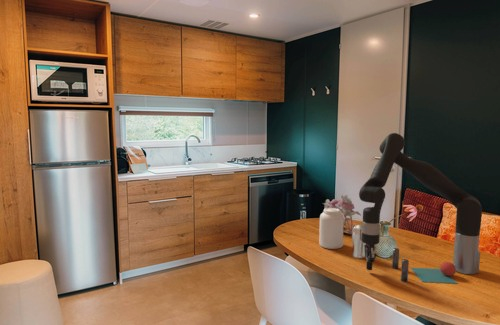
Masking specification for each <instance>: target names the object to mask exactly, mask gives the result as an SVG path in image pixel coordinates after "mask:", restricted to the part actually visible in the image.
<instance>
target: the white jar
mask: <svg viewBox="0 0 500 325" xmlns="http://www.w3.org/2000/svg"><path fill="white" fill-rule="evenodd" d="M324 208H325V207H324ZM344 220H345V217H344V215H343V213H341V211H340V209H338V208H337V209H336V208H325V209H323V211H322V213H320V215H319V232H318V233H319V234H318V244H319V246H320V247H322V248H325V249H330V250H336V249H341V248H342V247H343V245H344V232H343V230H344V227H343V226H344V225H343V222H344Z"/></svg>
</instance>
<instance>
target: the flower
mask: <svg viewBox="0 0 500 325" xmlns="http://www.w3.org/2000/svg"><path fill="white" fill-rule="evenodd" d="M322 204H323V205H324V206H323V207H324V209H325V208H336V209H339V210H340V213H341V214H342V215H343V218H344V222H343V228H344V226H345V227H346V229H343V233H346V234H349V235H352V230H353V226H354V225H353V224H354V223H353V218H352V217H353V216H354V215H356V214H357V215H358V216H362V214H361V213H360V212H359V211H358V210H356V211H354V210H353V209H355V205H354V203H353V201H352V198H350V197H349V195H348V194H347V195H343V194H342V195H341V196H340V198H339V199H334V198H333V199H332V200H331V201H330V199H328V198H327V199H326V200H325V202H324V203H323V202H322ZM336 205H337V206H336ZM324 209H323V210H324ZM349 221H350V222H349ZM350 224H351V225H350Z"/></svg>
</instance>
